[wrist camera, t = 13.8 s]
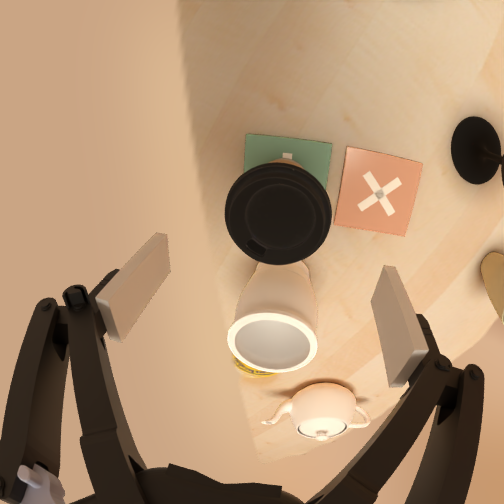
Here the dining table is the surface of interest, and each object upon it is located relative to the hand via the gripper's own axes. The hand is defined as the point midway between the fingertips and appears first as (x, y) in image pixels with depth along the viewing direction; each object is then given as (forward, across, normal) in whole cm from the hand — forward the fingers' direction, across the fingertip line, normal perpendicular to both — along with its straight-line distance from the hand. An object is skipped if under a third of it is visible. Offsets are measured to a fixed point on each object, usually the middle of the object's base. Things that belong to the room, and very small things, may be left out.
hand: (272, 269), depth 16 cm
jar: (+23, +1, -16) cm, 28 cm away
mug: (+23, +40, -8) cm, 47 cm away
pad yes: (+23, 0, 0) cm, 23 cm away
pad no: (+23, +12, 0) cm, 26 cm away
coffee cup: (+22, 0, 0) cm, 22 cm away
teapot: (+23, +14, -48) cm, 55 cm away
